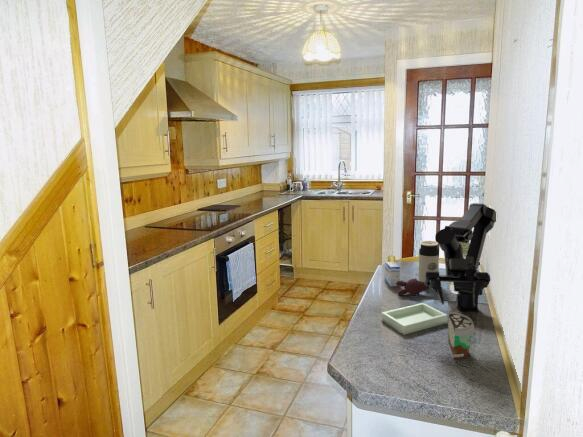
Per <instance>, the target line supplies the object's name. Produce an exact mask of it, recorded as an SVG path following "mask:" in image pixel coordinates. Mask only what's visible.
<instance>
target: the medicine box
mask: <svg viewBox="0 0 583 437" xmlns="http://www.w3.org/2000/svg"><path fill="white" fill-rule="evenodd" d="M384 281H385V283H386V284H387V285H388V286H389V287H398V286H397V284H396V282H397V281H401V266H400V265H399V264H398V263H396V262H395V261H385V262H384Z"/></svg>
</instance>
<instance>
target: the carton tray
mask: <svg viewBox="0 0 583 437" xmlns="http://www.w3.org/2000/svg"><path fill="white" fill-rule="evenodd" d="M381 322H383V323H384V324H387V325H388V326H389V327H391V328H393V329H394V330H395V331H397V332H398V333H400V334H401V335H408V334H409V335H410V334H412V333H415V332H419V331H422V330H427V329H429V328H430V329H431V328H434V327H437V326H441V325H444V324H445V325H446V324H447V323H448V314H447V313H444V312H443V311H441V310H438V309H437V308H435V307H432V306H431V305H428V304H426V303H425V302H421V303H416V304H413V305H409V306H403V307H400V308H395V309H391V310H386V311H383V312H381Z"/></svg>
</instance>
